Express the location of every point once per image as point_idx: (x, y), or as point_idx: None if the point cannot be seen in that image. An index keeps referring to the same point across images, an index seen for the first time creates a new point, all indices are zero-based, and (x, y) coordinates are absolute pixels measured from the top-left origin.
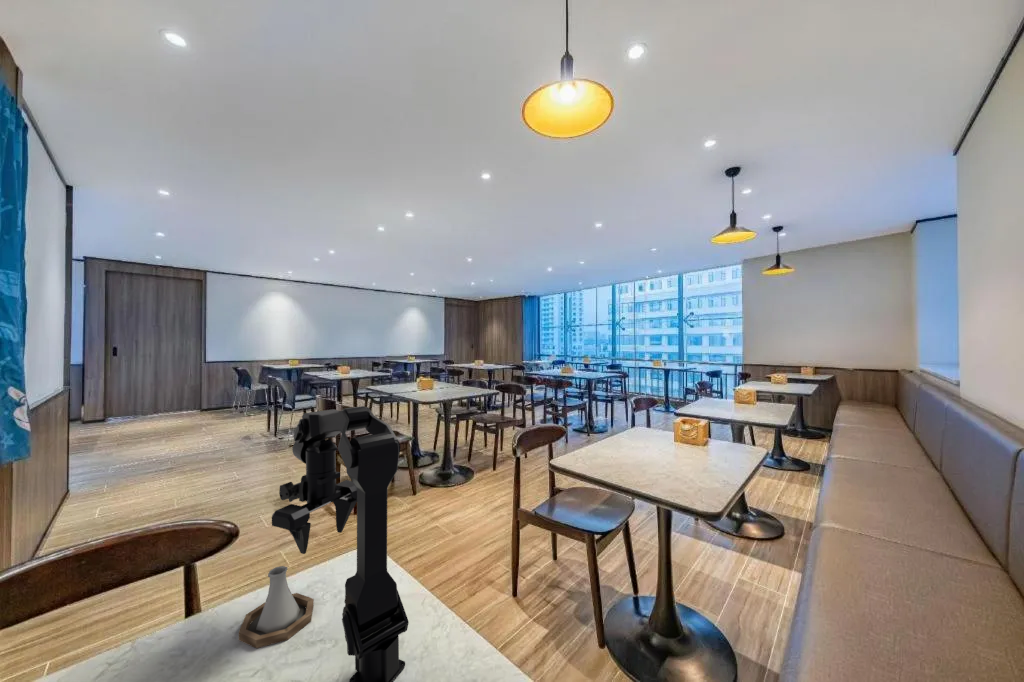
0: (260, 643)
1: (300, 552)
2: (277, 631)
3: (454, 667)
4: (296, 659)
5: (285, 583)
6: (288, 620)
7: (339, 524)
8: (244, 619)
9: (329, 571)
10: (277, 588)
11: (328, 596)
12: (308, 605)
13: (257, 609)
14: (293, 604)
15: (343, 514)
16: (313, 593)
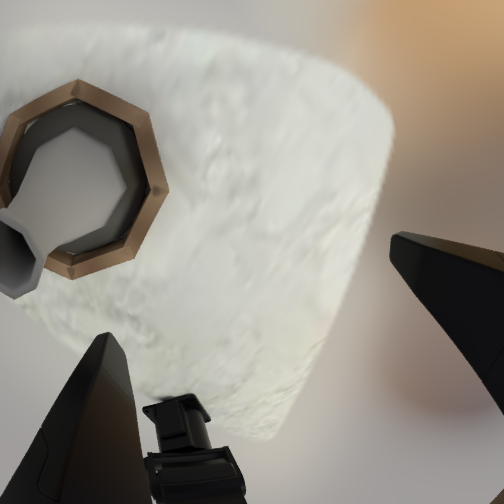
0: None
1: (96, 337)
2: (53, 260)
3: (244, 432)
4: (83, 330)
5: (52, 248)
6: (81, 236)
7: (428, 277)
8: (2, 138)
9: (294, 58)
10: (26, 256)
11: (219, 177)
12: (144, 213)
13: (35, 110)
14: (97, 217)
15: (476, 339)
16: (198, 122)
